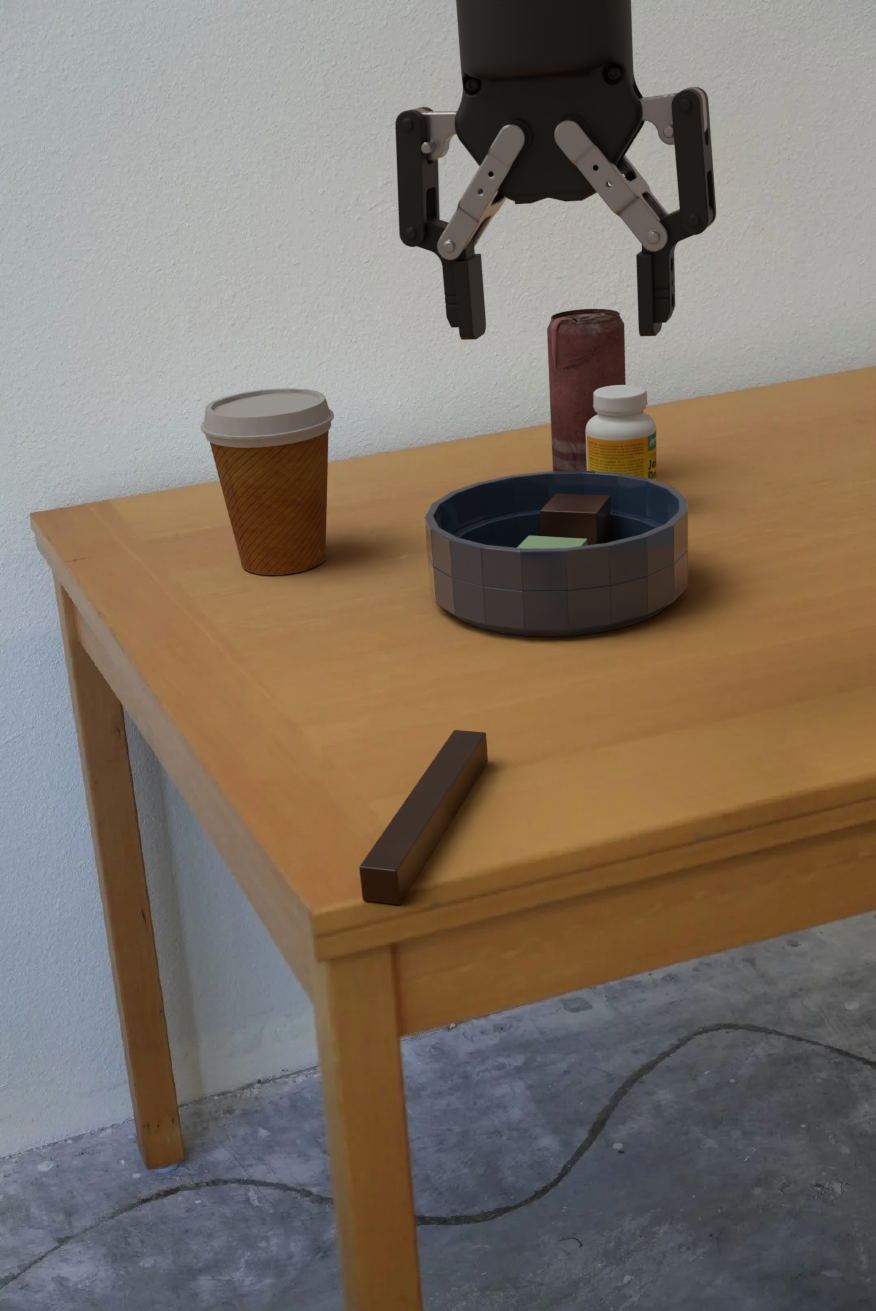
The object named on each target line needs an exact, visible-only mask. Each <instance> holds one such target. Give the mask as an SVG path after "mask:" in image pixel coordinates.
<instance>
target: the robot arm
mask: <svg viewBox="0 0 876 1311" xmlns="http://www.w3.org/2000/svg"><path fill="white" fill-rule="evenodd" d="M455 5H456V8H455V9H456V17H457V18H456V20H457V21H456V22H457V33H458V34H457V35H458V48H459V62H460V75H461V84H462V94H461V100H460V103H459V106H458V108H457V110H450V111H449V110H442V111H441V110H439V111H437V110H436V111H435V110H434V109H432V108H430V107H428V106H421V107H417V108H413V109H412V108H411V109H407V110H403V111H401V112H400V113H399V114H398V115H397V116H396V118H395V122H394V123H395V124H394V125H395V127H394V128H395V153H396V154H395V156H396V180H397V181H396V182H397V205H398V206H397V207H398V208H397V210H398V234H399V235H398V236H399V239H400V240H401V242H402V243H403V245H405V246H406V247H409V248H416V247H417V248H421V249H423V250H426V251H429V252H432V253H433V254H435V256H437V257H438V259H439V260H440V263H441V268H442V281H443V282H442V283H443V292H444V304H445V317H446V319H447V321H448V323H449V326H450V328H451V329H452V328H458V334H459V338H460V340H461V341H470V340H471V341H473V340H474V341H475V340H478V339H479V338H481V337H482V336H483V335H485V333H486V330H487V317H486V305H485V304H486V303H485V291H484V289H485V288H484V276H483V275H484V274H483V261H482V253H476V250H475V249H476V248H475V247H476V245H477V244H478V242H479V240H480V239H481V237H482V236H483V234H484V232H485V231H486V229H487V228H488V227H489V225H490V223H491V221H492V220H493V218H494V217H495V215H496V214H498V213H499V211H500V210H501V208H502V206H503V205H504V204H505V202H506V200H509V201H512V202H514V205H526V204H528V205H529V204H534V203H537V202H540V201H542V200H545V199H552V200H557V201H560V202H567V203H568V202H583V201H584V200H586V199H588V198H590V197H592V196H594V195H596V194H598V195H599V197H600V198H601V200H602V201H603V202H604V204H606V206H607V207H608V208H609V209H610V211H611V212H612V213H614V214H615V215H616V216H618V217H619V218H620V219H621V220H622V221H623V222H624V224H625V225H626V226H627V228H628V229H629V230H630V231H631V233H632V234H633V235H634V236H635V238H636V239H637V241H639V243H640V244H641V250H640V251H639V252H638V253H636V255H635V260H636V261H635V262H636V289H637V292H636V293H637V294H636V295H637V320H638V322H637V324H638V334H639V336H640V337H656V336H657V335H658V334H659V333H660V332H661V331H662V327H663V324H664V323H665V324H666V323H667V322H669V320H670V319H671V318H672V316H673V314H674V311H675V309H676V269H675V268H676V266H675V265H676V264H675V250H676V246H678V243H679V242H681V241H683V240H686V239H688V238H690V237H693V236H698V235H701V234H703V232H705V231H706V229H708V227H710V226H711V225H712V224H713V223H714V222H715V220H716V218H717V202H716V201H717V200H716V188H715V186H716V185H715V176H714V159H713V146H712V132H711V118H710V117H711V116H710V105H709V96H708V94H707V92H706V91H705V89H703V88H702V87H699V86H690V87H686V88H684V89H682V90H680V91H679V92H674V93H672V92H671V93H667V94H659V95H652V96H643V94H642V93H641V91H640V89H639V87H638V84H637V80H636V78H635V73H634V72H635V71H634V48H633V23H632V22H633V15H632V0H455ZM646 122H649V123H651V124H652V125H653V126H654V127H655V129H656V131H657V134H658V135H657V136H658V138H659V140H660V141H661V142H662V143H664V144H665V145H667V146H674V154H675V155H674V156H675V167H676V168H675V170H676V180H677V194H678V205H679V206H678V207H679V209H676V210H674V211H672V212H670V213H668V211H667V210H666V209H665V208H664V206H663V205H662V204H661V203H660V202H659V200H658V198H656V196H655V195H654V194H653V192H652V190H651V187H650V185H649V184H648V183H647V182H648V181H646V179H645V178H644V177H643V176H642V175H641V173H640V172H639V171H638V169H637V168H636V167H635V166H634V165H633V163H632V161H631V160H630V159H629V158H628V156H627V155H626V154H627V153H628V151H629V150H630V147H631V146H632V145H633V142H634V141H635V139H636V138H637V136H638V135H639V133H640V131H642V128H643V127H644V125H645V123H646ZM455 135H456V136H457V139H458V141H459V142H460V143H461V145H462V146H463V147H464V148H465V150H466V151H467V152H468V154H469V155H470V157H472V159H473V160H474V162H475V163H476V164H477V165H478V169H477V170H476V172H475V174H474V176H473V177H472V178H471V180H470V182H469V184H468V186H467V187H466V188H465V190H464V191H463V194H462V196H461V197H460V199H459V201H458V203H457V208H456V210H455V212H454V213H453V215H452V216H451V218H450V220H449V222H448V221H445V220H443V219H441V216H440V215H441V214H440V213H441V212H440V179H439V178H440V177H439V176H440V175H439V159H442V158H444V157H445V156H446V155H447V154H448V152H449V149H450V143H451V140H452V139H453V137H454V136H455ZM609 184H610V185H609Z"/></svg>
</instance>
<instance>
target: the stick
mask: <svg viewBox="0 0 876 1311" xmlns="http://www.w3.org/2000/svg"><path fill="white" fill-rule="evenodd" d="M488 762H489V756H488V741H487V733H486V732H485V731H473V730H462V729H454V730H453V731H452V732H451V734H450V735H449V736H448V738H447V739H446V741H445V742H444V743H443V745H442V747H441V748H440V749H439V751H438V753H436V756H435V757H434V758H433V759H432V761H431V762H430V763H429V765H428V767H427V768H426V769H425V771H424V772H423V774H422V775H421V777H420V778H419V780H418V781H417V783H416V784H415V785H414V787H413V788H412V790H411V791H410V793H409V794H408V796H407V798H405V800H404V801H403V803H402V804H401V806H400V807H399V808H398V810H397V812H395V814H394V816H393V817H392V819H391V820H390V821H389V823H388V824H387V826H386V828H385V829H384V830H383V832H381V834H380V836H379V837H378V839H377V840H376V842H375V843H374V845H373V846H372V847H371V849H370V850H369V852H368V853H367V855H366V856H365V858H364V859H363V861H362V862H361V864H360V865H359V867H358V868H359V878H360V879H359V880H360V888H361V898H362V901H364V902H372V903H380V904H389V905H395V906H397V905H401V904H402V902H403V900H404V898H405V897H406V895H407V894H408V892H409V890H410V889H411V887H412V885H413V884H414V883H415V881H416V879H417V877H418V875H419V874H420V872H421V871H422V869H423V867H424V866H425V864H426V863H427V861H428V859H429V858H430V856H431V855H432V853H433V851H434V850H435V848H436V847H437V845H438V843H439V842H440V840H441V839H442V837H443V835H444V834H445V832H446V831H447V829H448V827H449V826H450V824H451V822H452V821H453V819H454V818H455V816H456V814H457V813H458V811H459V809H460V808H461V806H462V804H463V803H464V801H465V800H466V798H467V797H468V795H469V793H470V792H471V790H472V789H473V787H474V786H475V783H476V782H477V780H478V779H479V778H480V776H481V774H482V772H484V770H485V767H486V766H487V764H488Z"/></svg>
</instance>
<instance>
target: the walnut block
mask: <svg viewBox="0 0 876 1311" xmlns="http://www.w3.org/2000/svg"><path fill="white" fill-rule="evenodd" d="M540 519H541V536H545V537H563V538H581V539H587V545H595V544H603V543H608V542H612V539H611V497H610V496H609V495H584V494H558V493H556V494H555V495H554V496H553V497H552V498H551V499H550V500H549V501H548V503H547V504H546V505H545V506H544V507H543V508H542V509H541V510H540Z"/></svg>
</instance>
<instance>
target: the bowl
mask: <svg viewBox="0 0 876 1311" xmlns="http://www.w3.org/2000/svg"><path fill="white" fill-rule="evenodd" d="M556 493H558V494H584V495H609V496H610V497H611V539H612V542H608V543H603V544H595V545H587V546H578V547H570V548H529V549H523V548H517V547H518V546H519V545H520V544H521V543H522V542H523V541H524V540H525V539H526V538H527V537H528V536H541V519H540V510H541V509H542V508H543V507H544V506H545V505H546V504H547V503H548V501H549V500H550V499H551V498H552V497H553V496H554V495H555V494H556ZM424 526H425V528H424V529H425V541H426V554H427V566H428V580H429V590H430V592H431V594H432V597H433V598H434V599H433V600H434V602H435V603H436V605H438V606H440V607H441V608H442V609H444V610H446V611H447V612H448V613H450V614H451V615H453V616H454V617H456V618H457V619H459V621H462V622H464V623H466V624H468V625H471V626H474V627H476V628H479V629H482V630H486V631H491V632H495V633H501V634H505V635H506V634H507V635H512V636H513V635H514V636H526V637H545V638H547V637H569V636H571V637H572V636H582V635H590V634H591V635H592V634H598V633H603V632H608V631H613V630H617V629H623V628H626V627H628V626H633V625H636V624H638V623H641V622H643V621H645V620H647V619H650V618H651V617H653V616H656V615H658V614H659V613H660V612H662V611H664V610H665V609H666V608H667V607H668V606H669V605H671V604H673V603H674V602H675V601H676V600H677V599H678V598H679V597H680V596H681V595H682V594H683V593H684V592H685V591H686V590H687V588H688V587H689V499H688V498H687V497H686V496H685V495H683V493H681V492H680V491H679V490H678V489H677V488H676V487H675V486H674V487H673V486H671V485H669V484H666V483H664V482H661V481H658V480H657V481H656V480H653V479H649V478H644V477H639V476H634V475H628V474H623V473H613V472H599V471H553V470H551V471H550V470H547V471H537V472H529V473H519V474H511V475H507V476H501V477H497V478H496V477H495V478H492V479H488V480H483V481H478V482H475V483H472V484H469V485H466V486H464V487H460V488H458V489H455V490H453V491H450V492H448V493H446V494H445V495H443V496H441V497H440V498H438V499H437V500H435V501H434V502H432V503H431V504H430V506H429V508H428V510H427V511H426V513H425V515H424Z"/></svg>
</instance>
